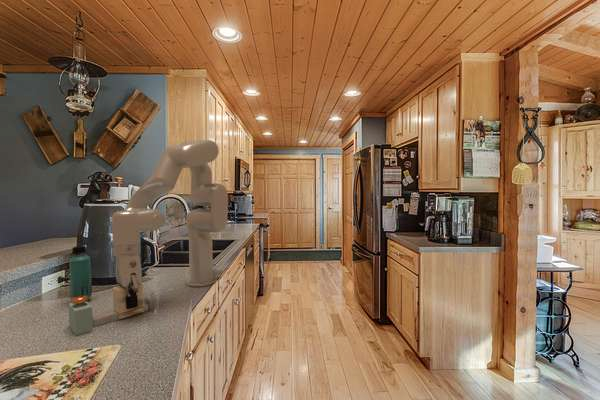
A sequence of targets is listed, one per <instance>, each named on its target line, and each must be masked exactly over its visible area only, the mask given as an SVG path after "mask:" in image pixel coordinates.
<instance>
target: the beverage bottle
mask: <svg viewBox="0 0 600 400" xmlns="http://www.w3.org/2000/svg"><path fill="white" fill-rule="evenodd" d="M71 250H72V252H71V253H72V254H78V255H73V256H71V258H70V259H69V260H68V262H69V263H68V264H69V265H68V266H69V294H70V300H71V301H72V298H74V297H77V296H83V295H86V296H87V299H90V298H91V297H92V295H93V286H92V266H91V257H90V256H89V255H87V254H83V253H87V251H88V250H87V246H86V245H77V246H73V247H72V249H71Z"/></svg>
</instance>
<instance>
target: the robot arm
mask: <svg viewBox="0 0 600 400" xmlns="http://www.w3.org/2000/svg"><path fill="white" fill-rule="evenodd" d="M219 152H220V151H219V147H218V144H217V143H216V142H215V141H214V140H211V139H201V140H188V141H184V142H182V143H181V144H180V145H179V144H178V145H170V146H166V147H165V148H164V149H163V151H162V152H161V154H160V157H159V159H158V162H157V163H156V165H155V168H154V170H153V172H152V174H151V176H150V177H149V180H147V181H146V182H145V183H144V184H142V185H141V186H140V187H139V188H138V189H137V190H136V191H135V192H133V194H132V196H131V197H130V198H129V200H128V202H127V203H126V206H125V208H124V210H120V211H119V210H118V211H116V212H114V213H112V216H111V217H112V218H111V219H112V221H111V222H112V223H111V225H112V254H113V257H115V280H116V283H117V284H118V286H124V287H126V291H127V296H126V309H131V308H134V307H137V306H138V297H137V295H138V292H137V291H138V289H139V286H138V284H139V285H142V284H143V276H142V275H143V273H142V272H143V271H142V264H141V257H140V254H141V232H155V231H157V230H160V229H161V228H162V227H163V226H164V224H165V221H166V217H165V215H164V213H163V212H162V211H160V210H158V209H156V208H155V209H154V208H148V207H149V205H150V204H151V203H152V202H153V201H154V200H156V199H157V198H159V197H161V196H163V195H165V194H167V193H169V192H172V191H173V190H174V189H175V187H176V184H177V182H178V180H179V178H180V177H179V176H180V174H181V173H182V170H183V169H189V171H190V200H191V201H190V202H191V203H192V204H194V205H195V206H202V207H210V208H195V209H191V210H190V211H188V213H187V215H186V216H185V225H186V228H187V229H186V230H187V233H188V259H189V260H188V263H189V264H188V265H189V277H188V278H187V279H186V280H185V284H186V286H188V287H195V288H196V287H197V288H198V287H207V286H210V285H213V284H215V283H216V282H217V277H216V276H217V275H222V274H223V269H218V270H217V269H213V267H214V264H213V263H214V261H213V257H214V256H213V239H212V236H211V234H210V233H221V232H223V231H224V230H225V229H226V227H227V225H228V215H229V214H228V213H229V210H228V209H229V206H228V205H229V195H228V190H227V188H226V187H225V186H224V184H222V183H215V182H213V173H212V168H211V167H210V164H209V163H212V162H214V161H215V160H216V159H217V158H218V156H219ZM129 284H132V286H129ZM129 288H132V289H131V290H129Z"/></svg>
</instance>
